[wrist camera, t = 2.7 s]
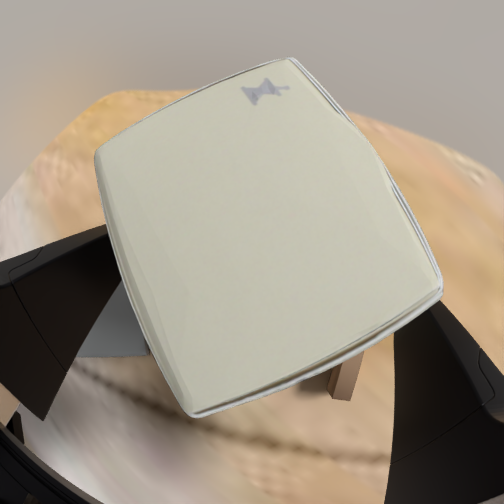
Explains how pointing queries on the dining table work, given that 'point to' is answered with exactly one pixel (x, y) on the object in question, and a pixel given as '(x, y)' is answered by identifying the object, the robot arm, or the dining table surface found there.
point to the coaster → (115, 330)
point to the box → (259, 237)
